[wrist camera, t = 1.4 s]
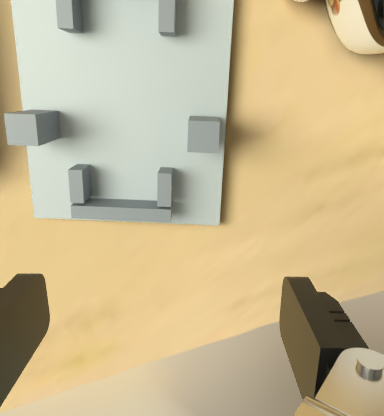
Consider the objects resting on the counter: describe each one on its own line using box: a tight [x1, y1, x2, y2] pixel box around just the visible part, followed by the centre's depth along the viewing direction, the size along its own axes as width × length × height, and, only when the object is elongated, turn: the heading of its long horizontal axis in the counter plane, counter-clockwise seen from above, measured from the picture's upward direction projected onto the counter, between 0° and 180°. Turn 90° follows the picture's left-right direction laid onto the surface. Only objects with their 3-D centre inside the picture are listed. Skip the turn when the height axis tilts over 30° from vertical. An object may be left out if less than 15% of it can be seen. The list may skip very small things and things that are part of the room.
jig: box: [4, 0, 234, 225], centre depth 30 cm, size 22×18×6 cm
